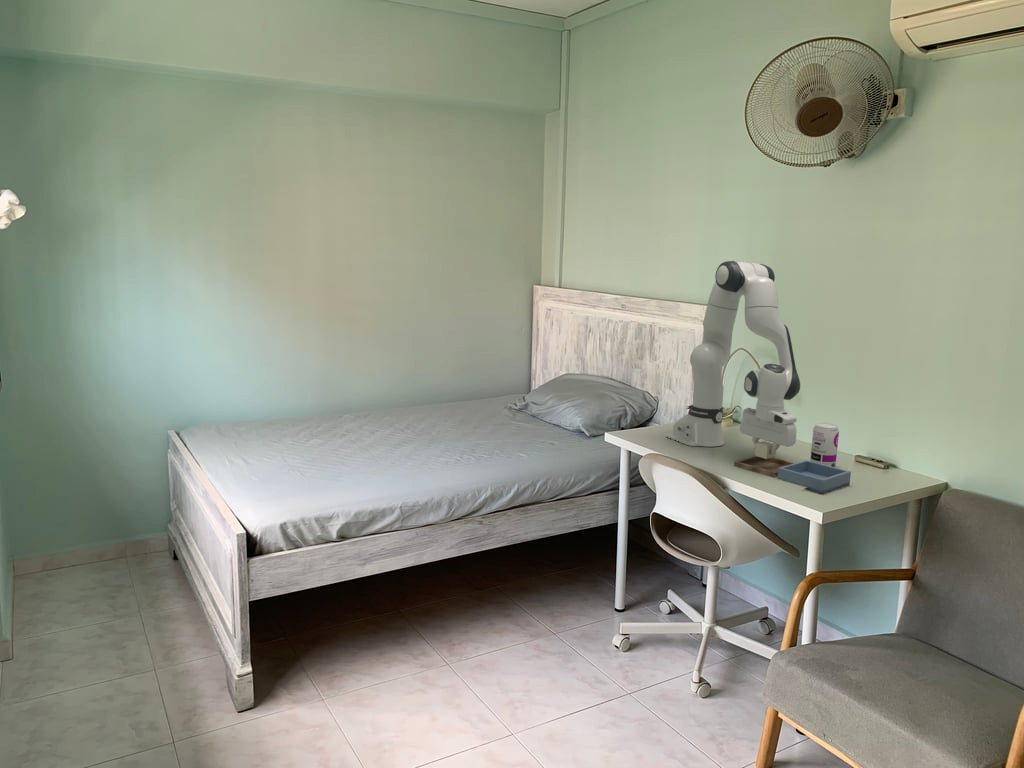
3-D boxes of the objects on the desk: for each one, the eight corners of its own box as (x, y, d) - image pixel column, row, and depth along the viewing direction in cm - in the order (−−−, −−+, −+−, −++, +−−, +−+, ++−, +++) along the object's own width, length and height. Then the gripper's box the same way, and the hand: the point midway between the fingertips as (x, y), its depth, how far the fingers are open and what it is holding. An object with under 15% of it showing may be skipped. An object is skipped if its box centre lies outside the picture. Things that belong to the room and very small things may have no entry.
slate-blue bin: (777, 481, 258) (778, 468, 258) (804, 472, 268) (805, 460, 267) (822, 494, 246) (823, 480, 245) (849, 485, 256) (850, 471, 255)
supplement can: (836, 466, 276) (841, 424, 274) (833, 472, 269) (837, 429, 267) (812, 462, 280) (816, 421, 278) (807, 468, 273) (811, 426, 271)
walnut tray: (733, 468, 271) (734, 461, 271) (761, 461, 281) (761, 454, 281) (774, 480, 259) (775, 473, 259) (802, 472, 269) (802, 465, 268)
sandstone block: (754, 455, 270) (756, 442, 269) (763, 453, 272) (764, 441, 272) (765, 458, 266) (767, 446, 265) (774, 457, 269) (775, 444, 268)
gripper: (738, 407, 273) (734, 446, 275) (789, 420, 257) (784, 461, 259) (749, 405, 276) (745, 443, 279) (801, 418, 260) (796, 459, 263)
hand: (764, 452), depth 269 cm, fingers closed on sandstone block, 4 cm apart
